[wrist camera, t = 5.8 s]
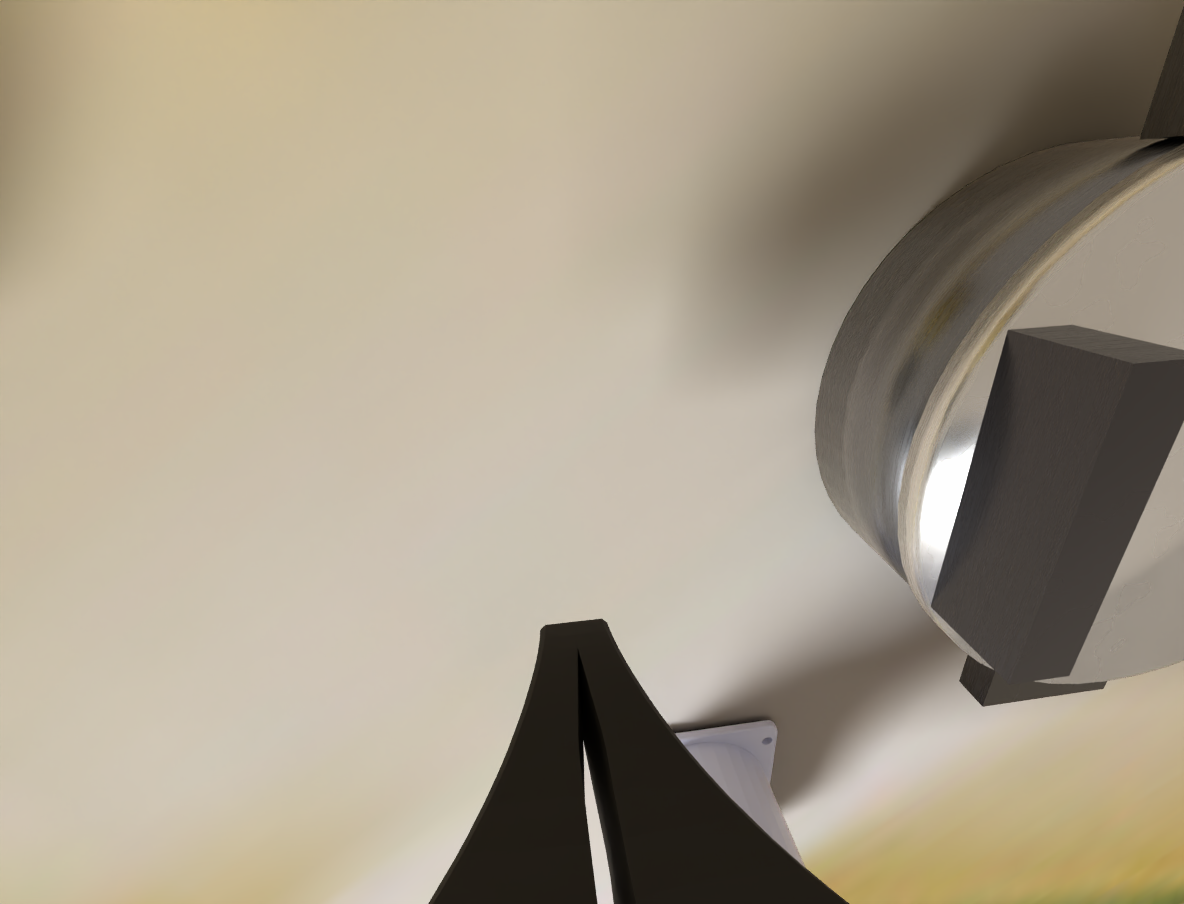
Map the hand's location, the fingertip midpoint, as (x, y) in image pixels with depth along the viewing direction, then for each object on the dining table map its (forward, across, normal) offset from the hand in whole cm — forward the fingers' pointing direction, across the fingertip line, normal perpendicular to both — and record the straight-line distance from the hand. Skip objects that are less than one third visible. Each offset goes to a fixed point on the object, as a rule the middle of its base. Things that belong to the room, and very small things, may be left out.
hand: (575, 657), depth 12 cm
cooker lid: (+3, -18, -2) cm, 18 cm away
